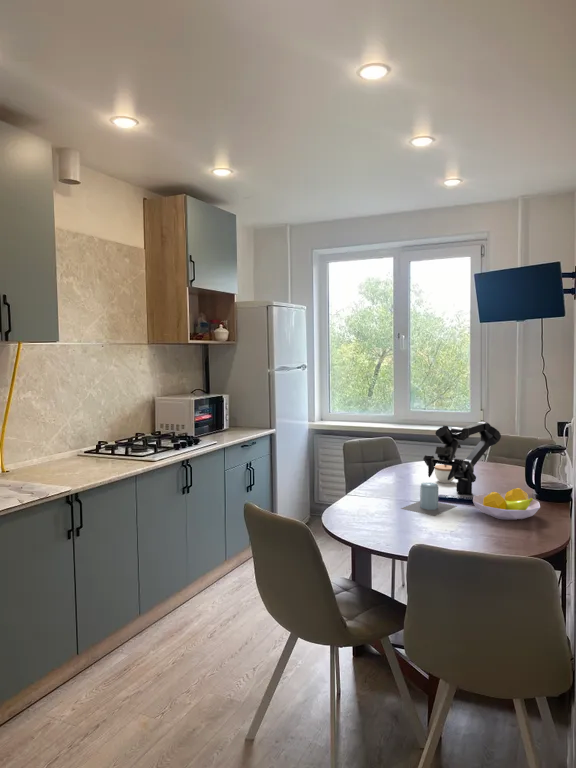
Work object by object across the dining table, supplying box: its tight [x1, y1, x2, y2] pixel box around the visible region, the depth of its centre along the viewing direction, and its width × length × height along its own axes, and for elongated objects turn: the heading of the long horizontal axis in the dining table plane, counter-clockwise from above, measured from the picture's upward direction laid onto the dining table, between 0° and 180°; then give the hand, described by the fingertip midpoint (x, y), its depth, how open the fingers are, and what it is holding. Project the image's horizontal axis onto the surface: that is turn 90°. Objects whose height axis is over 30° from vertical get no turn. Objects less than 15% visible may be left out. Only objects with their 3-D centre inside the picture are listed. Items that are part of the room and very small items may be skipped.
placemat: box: [400, 500, 457, 517], centre depth 249 cm, size 20×16×1 cm
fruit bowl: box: [472, 487, 541, 520], centre depth 238 cm, size 28×27×11 cm
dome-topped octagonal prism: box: [419, 482, 439, 510], centre depth 249 cm, size 7×7×10 cm
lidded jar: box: [434, 464, 455, 484], centre depth 298 cm, size 11×11×9 cm
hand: (438, 478), depth 258 cm, fingers open, 9 cm apart
